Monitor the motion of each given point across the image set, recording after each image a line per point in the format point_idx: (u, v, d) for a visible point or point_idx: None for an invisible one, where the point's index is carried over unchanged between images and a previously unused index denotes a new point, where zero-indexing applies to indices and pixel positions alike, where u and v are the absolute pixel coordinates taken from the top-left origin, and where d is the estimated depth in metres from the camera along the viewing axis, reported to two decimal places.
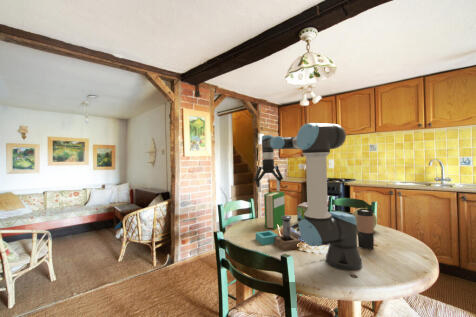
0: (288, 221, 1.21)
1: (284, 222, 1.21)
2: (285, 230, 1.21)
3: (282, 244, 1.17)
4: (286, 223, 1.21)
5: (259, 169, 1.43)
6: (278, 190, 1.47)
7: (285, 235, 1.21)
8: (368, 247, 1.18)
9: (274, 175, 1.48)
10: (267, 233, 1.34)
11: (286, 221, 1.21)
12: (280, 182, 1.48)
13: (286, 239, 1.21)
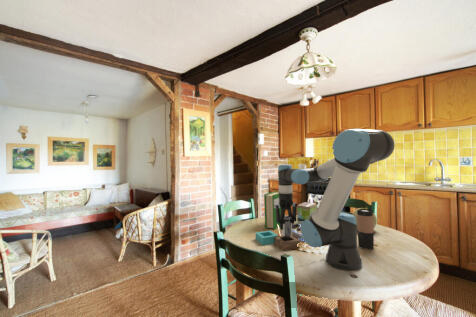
0: (288, 221, 1.21)
1: (284, 222, 1.21)
2: (285, 230, 1.21)
3: (282, 244, 1.17)
4: (286, 223, 1.21)
5: (277, 209, 1.20)
6: None
7: (285, 235, 1.21)
8: (368, 247, 1.18)
9: (288, 213, 1.23)
10: (267, 233, 1.34)
11: (286, 221, 1.21)
12: None
13: (286, 239, 1.21)
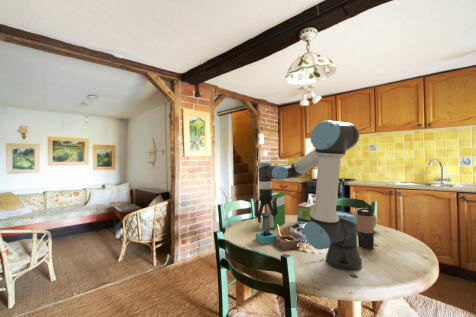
0: (267, 217, 1.29)
1: (263, 218, 1.30)
2: (264, 226, 1.29)
3: (282, 244, 1.17)
4: (265, 219, 1.29)
5: (256, 203, 1.28)
6: None
7: (264, 231, 1.29)
8: (368, 247, 1.18)
9: (269, 208, 1.32)
10: None
11: (265, 217, 1.29)
12: (274, 217, 1.32)
13: (265, 234, 1.29)
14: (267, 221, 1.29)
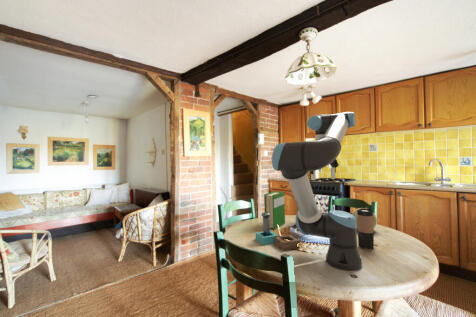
0: (267, 218, 1.29)
1: (264, 218, 1.30)
2: (265, 226, 1.29)
3: (282, 244, 1.17)
4: (265, 219, 1.29)
5: None
6: (333, 178, 1.28)
7: (265, 231, 1.29)
8: (368, 247, 1.18)
9: None
10: None
11: (265, 218, 1.29)
12: (335, 169, 1.29)
13: (265, 234, 1.29)
14: (267, 221, 1.29)
